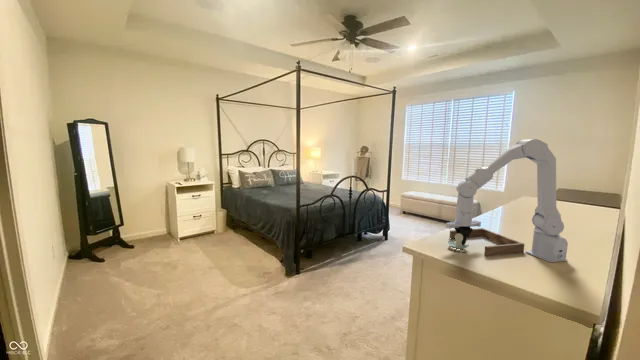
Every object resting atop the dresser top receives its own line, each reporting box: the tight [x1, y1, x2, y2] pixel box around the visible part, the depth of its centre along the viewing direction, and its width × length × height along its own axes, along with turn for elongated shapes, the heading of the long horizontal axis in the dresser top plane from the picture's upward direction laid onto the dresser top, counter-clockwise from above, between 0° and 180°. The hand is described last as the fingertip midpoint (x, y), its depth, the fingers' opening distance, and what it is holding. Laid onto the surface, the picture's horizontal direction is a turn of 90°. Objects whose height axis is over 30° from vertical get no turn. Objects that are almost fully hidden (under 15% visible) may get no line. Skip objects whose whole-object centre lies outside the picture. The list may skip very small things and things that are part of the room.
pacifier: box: [447, 233, 470, 253], centre depth 107 cm, size 7×6×6 cm
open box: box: [449, 227, 525, 257], centre depth 112 cm, size 20×17×4 cm
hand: (461, 244), depth 110 cm, fingers closed
